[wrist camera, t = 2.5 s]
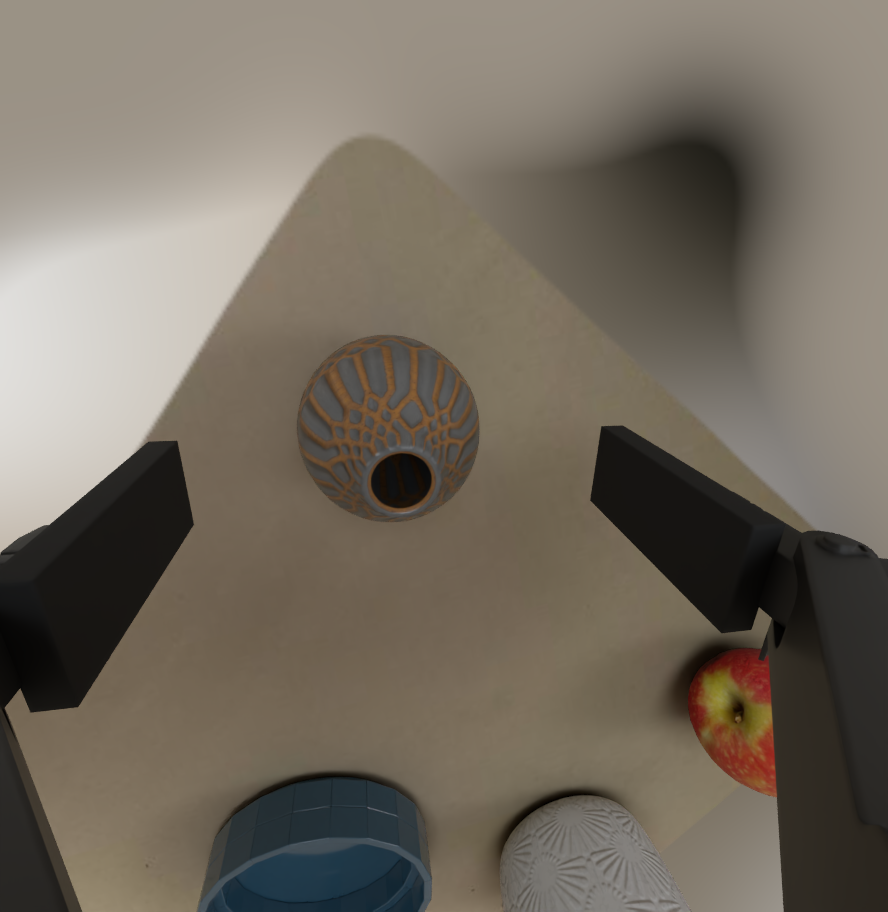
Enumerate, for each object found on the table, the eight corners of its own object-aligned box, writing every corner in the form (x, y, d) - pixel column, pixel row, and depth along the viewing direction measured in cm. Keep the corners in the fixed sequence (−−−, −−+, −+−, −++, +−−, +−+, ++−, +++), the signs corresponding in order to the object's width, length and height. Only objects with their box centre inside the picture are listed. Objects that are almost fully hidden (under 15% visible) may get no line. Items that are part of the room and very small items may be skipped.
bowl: (195, 789, 29) (173, 865, 25) (424, 754, 31) (433, 819, 28) (229, 917, 34) (215, 996, 30) (422, 879, 36) (430, 948, 33)
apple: (721, 607, 31) (835, 714, 24) (795, 647, 34) (916, 753, 27) (644, 692, 33) (727, 816, 25) (720, 723, 36) (814, 842, 28)
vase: (380, 497, 24) (394, 617, 16) (273, 398, 21) (223, 483, 13) (486, 405, 23) (558, 483, 15) (388, 290, 20) (411, 309, 12)
